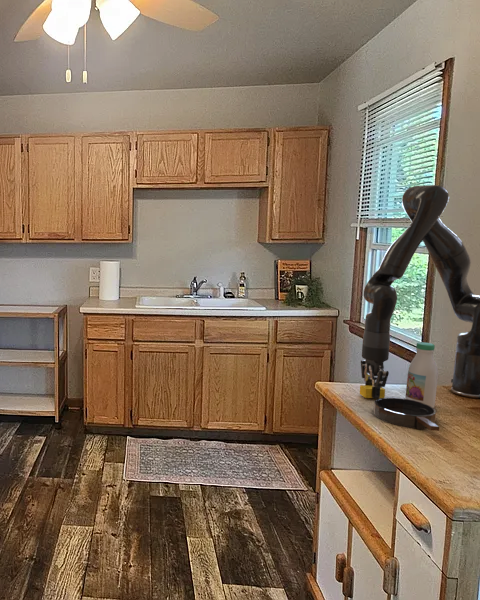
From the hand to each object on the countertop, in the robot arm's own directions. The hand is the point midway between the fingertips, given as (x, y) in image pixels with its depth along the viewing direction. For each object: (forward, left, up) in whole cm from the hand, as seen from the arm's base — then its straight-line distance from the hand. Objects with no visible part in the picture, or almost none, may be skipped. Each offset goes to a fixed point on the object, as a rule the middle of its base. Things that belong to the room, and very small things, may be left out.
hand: (371, 395), depth 163 cm
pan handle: (-1, +28, -1) cm, 28 cm away
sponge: (0, 0, 0) cm, 0 cm away
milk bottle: (-11, +7, -1) cm, 13 cm away
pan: (-1, +17, -1) cm, 17 cm away
